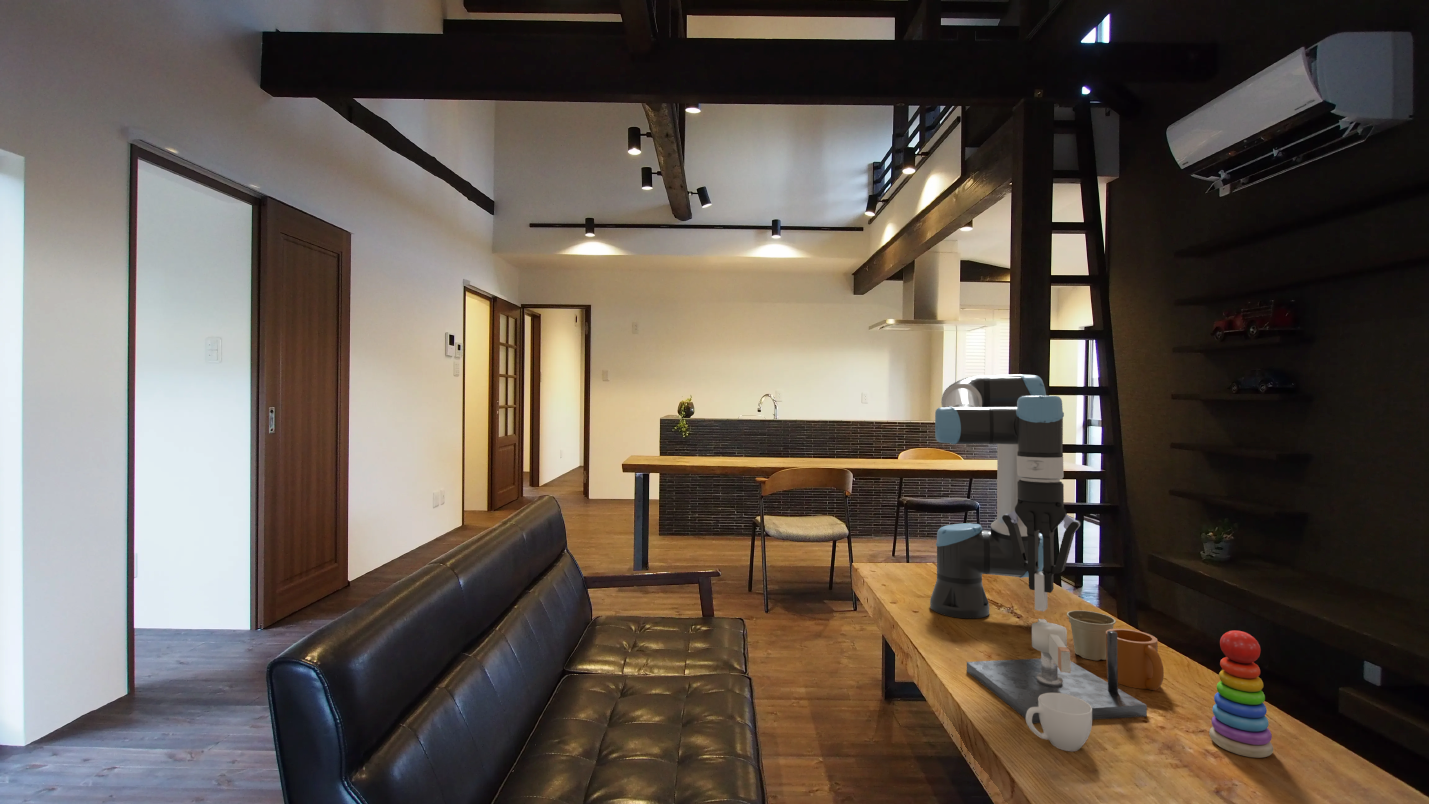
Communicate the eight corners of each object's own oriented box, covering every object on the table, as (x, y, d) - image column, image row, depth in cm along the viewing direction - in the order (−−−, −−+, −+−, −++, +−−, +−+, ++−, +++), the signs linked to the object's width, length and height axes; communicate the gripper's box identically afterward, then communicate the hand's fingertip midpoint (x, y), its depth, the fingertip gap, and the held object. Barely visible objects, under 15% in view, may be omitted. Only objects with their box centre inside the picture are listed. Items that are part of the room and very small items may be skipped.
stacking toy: (1196, 735, 105) (1195, 623, 106) (1240, 733, 106) (1239, 621, 106) (1240, 761, 97) (1238, 640, 98) (1287, 759, 98) (1285, 638, 98)
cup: (1102, 758, 98) (1102, 714, 98) (1037, 756, 99) (1037, 713, 99) (1076, 733, 106) (1076, 692, 106) (1016, 731, 106) (1016, 691, 107)
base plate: (966, 671, 131) (966, 609, 131) (1064, 666, 134) (1063, 605, 134) (1031, 723, 109) (1030, 648, 110) (1146, 716, 112) (1145, 642, 112)
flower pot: (1123, 665, 134) (1123, 625, 134) (1075, 662, 136) (1075, 622, 136) (1105, 649, 143) (1105, 611, 144) (1060, 646, 145) (1060, 609, 145)
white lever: (1025, 635, 128) (1025, 616, 128) (1058, 638, 127) (1058, 618, 127) (1046, 670, 111) (1046, 647, 111) (1084, 674, 109) (1084, 651, 109)
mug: (1128, 695, 120) (1127, 648, 121) (1098, 670, 132) (1096, 627, 132) (1179, 697, 119) (1177, 649, 119) (1144, 672, 131) (1142, 628, 131)
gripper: (996, 478, 116) (997, 606, 116) (1076, 484, 108) (1077, 621, 107) (1008, 475, 122) (1009, 597, 122) (1084, 480, 114) (1086, 611, 113)
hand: (1041, 608), depth 115 cm, fingers closed
